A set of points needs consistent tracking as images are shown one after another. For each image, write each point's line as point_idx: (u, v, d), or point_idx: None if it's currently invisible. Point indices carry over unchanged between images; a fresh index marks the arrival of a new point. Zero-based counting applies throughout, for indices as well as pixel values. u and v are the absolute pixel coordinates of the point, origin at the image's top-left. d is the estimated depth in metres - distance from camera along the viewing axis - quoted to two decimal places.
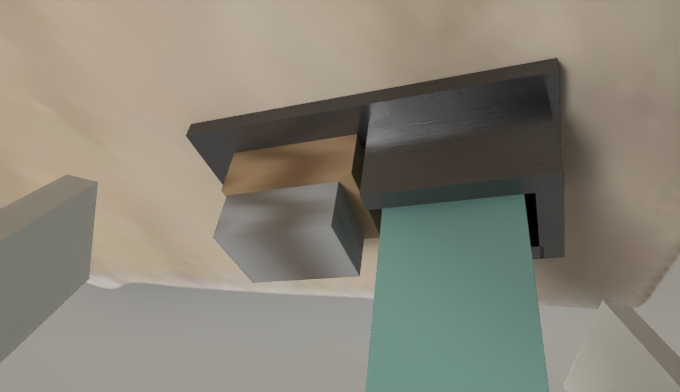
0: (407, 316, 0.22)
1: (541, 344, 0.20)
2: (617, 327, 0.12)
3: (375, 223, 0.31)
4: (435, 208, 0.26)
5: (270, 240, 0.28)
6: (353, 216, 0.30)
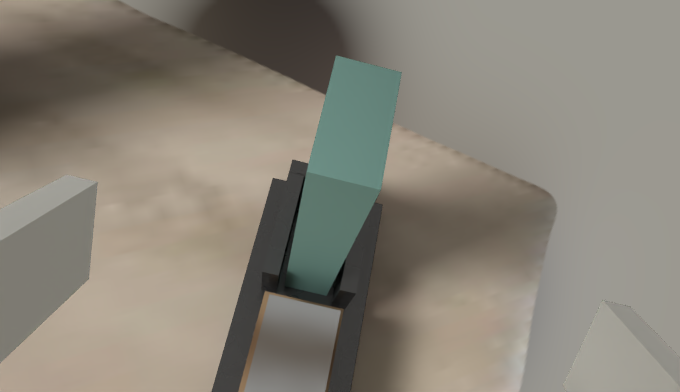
0: None
1: None
2: (617, 327, 0.12)
3: (327, 306, 0.38)
4: None
5: (266, 353, 0.33)
6: None
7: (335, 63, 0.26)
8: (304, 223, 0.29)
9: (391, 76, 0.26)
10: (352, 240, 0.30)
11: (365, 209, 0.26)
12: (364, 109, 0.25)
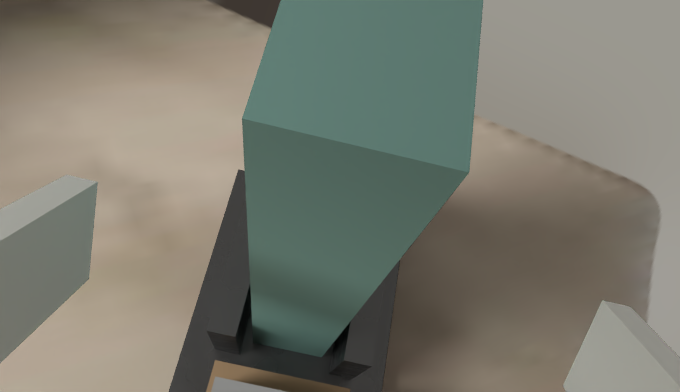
0: None
1: None
2: (617, 326, 0.12)
3: (322, 383, 0.22)
4: None
5: None
6: None
7: None
8: (264, 254, 0.13)
9: None
10: (370, 289, 0.14)
11: (410, 226, 0.10)
12: None
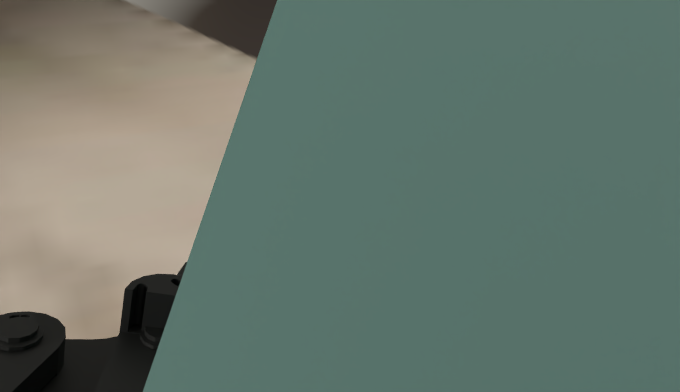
0: None
1: None
2: None
3: None
4: None
5: None
6: None
7: None
8: None
9: None
10: None
11: None
12: (579, 119, 0.03)
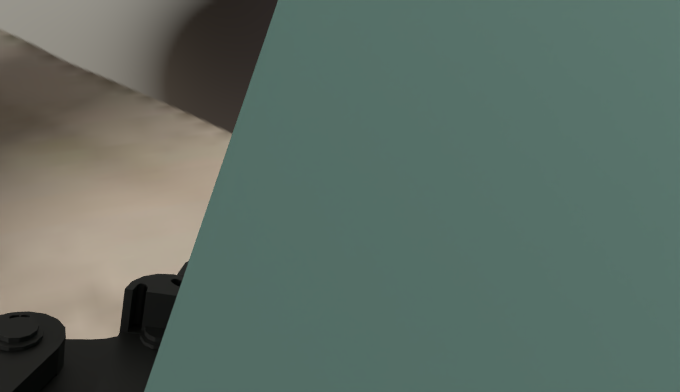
0: None
1: None
2: None
3: None
4: None
5: None
6: None
7: None
8: None
9: None
10: None
11: None
12: (578, 124, 0.03)
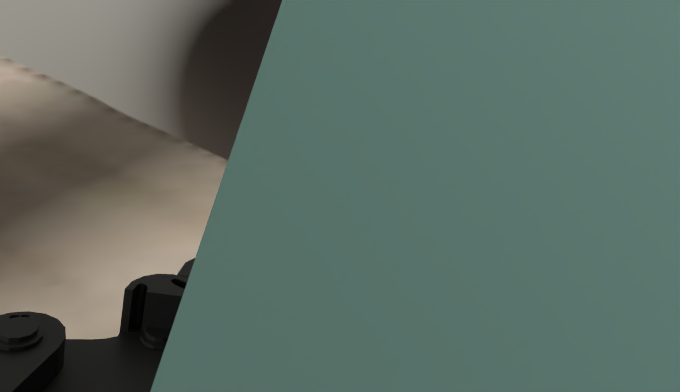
0: None
1: None
2: None
3: None
4: None
5: None
6: None
7: None
8: None
9: None
10: None
11: None
12: (584, 122, 0.03)
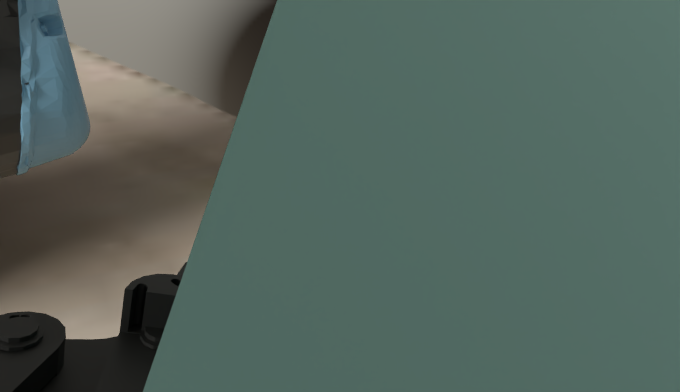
0: None
1: None
2: None
3: None
4: None
5: None
6: None
7: None
8: None
9: None
10: None
11: None
12: (578, 125, 0.03)
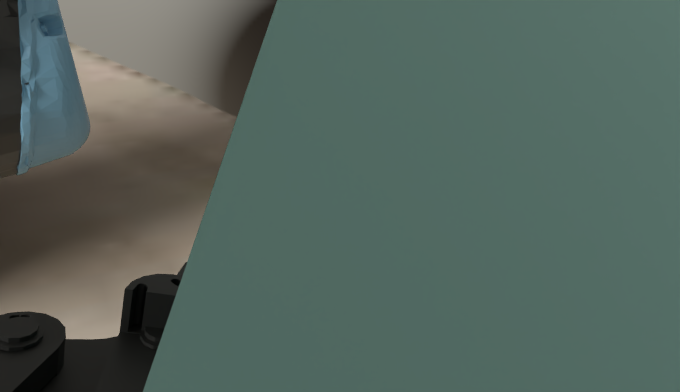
0: None
1: None
2: None
3: None
4: None
5: None
6: None
7: None
8: None
9: None
10: None
11: None
12: (578, 125, 0.03)
